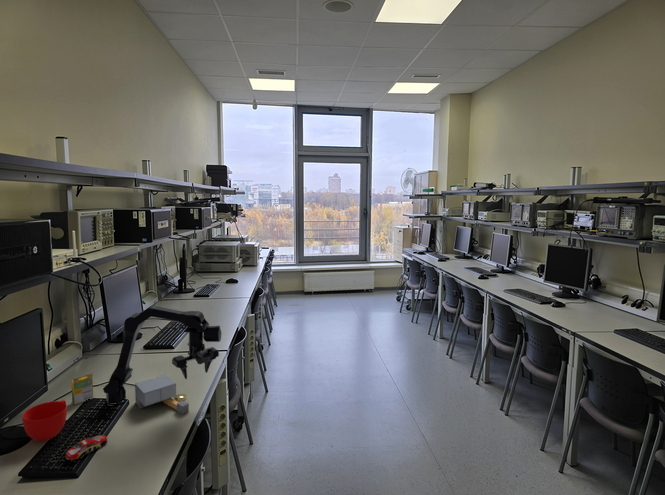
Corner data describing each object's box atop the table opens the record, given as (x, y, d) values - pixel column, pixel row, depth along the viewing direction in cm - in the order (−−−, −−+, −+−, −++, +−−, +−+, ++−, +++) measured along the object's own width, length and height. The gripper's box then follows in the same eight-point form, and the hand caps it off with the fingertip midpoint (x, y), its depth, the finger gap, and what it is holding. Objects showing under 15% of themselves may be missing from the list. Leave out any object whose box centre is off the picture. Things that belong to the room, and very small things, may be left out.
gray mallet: (182, 414, 156) (182, 406, 156) (161, 402, 164) (161, 394, 164) (188, 411, 158) (188, 403, 158) (167, 399, 167) (167, 392, 166)
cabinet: (144, 414, 155) (144, 393, 154) (135, 403, 163) (135, 383, 162) (176, 403, 164) (176, 383, 163) (166, 393, 172) (165, 374, 171)
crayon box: (91, 396, 167) (90, 371, 166) (93, 398, 165) (92, 373, 164) (71, 402, 161) (70, 376, 160) (74, 405, 160) (73, 379, 158)
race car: (101, 438, 139) (101, 428, 139) (110, 443, 137) (110, 432, 136) (62, 459, 128) (62, 448, 127) (72, 465, 125) (71, 453, 125)
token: (178, 403, 165) (178, 400, 164) (171, 399, 168) (171, 397, 167) (188, 398, 169) (188, 396, 169) (182, 395, 172) (182, 392, 171)
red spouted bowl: (82, 419, 149) (81, 396, 148) (52, 447, 133) (50, 421, 131) (48, 419, 149) (47, 395, 148) (14, 447, 132) (12, 420, 131)
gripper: (182, 352, 150) (182, 389, 152) (225, 341, 164) (225, 375, 165) (171, 344, 158) (171, 379, 160) (212, 334, 171) (212, 367, 173)
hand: (196, 375), depth 165 cm, fingers open, 9 cm apart
